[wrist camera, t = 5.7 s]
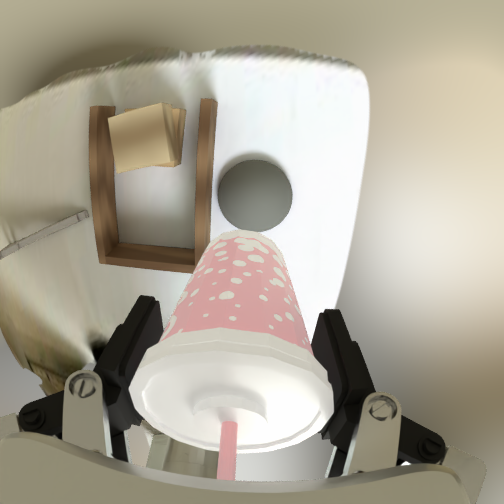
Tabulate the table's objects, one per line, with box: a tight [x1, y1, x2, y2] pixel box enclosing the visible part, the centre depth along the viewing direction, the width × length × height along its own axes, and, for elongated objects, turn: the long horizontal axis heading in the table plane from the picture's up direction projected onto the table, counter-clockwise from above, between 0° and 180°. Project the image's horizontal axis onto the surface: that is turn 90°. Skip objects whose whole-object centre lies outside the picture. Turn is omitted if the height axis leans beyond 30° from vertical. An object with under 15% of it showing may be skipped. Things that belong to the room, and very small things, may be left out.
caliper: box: [0, 210, 89, 260], centre depth 29 cm, size 20×1×6 cm, turn 103°
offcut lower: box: [125, 108, 186, 167], centre depth 26 cm, size 6×6×3 cm
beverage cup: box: [129, 229, 334, 481], centre depth 9 cm, size 6×6×14 cm
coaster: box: [218, 160, 292, 232], centre depth 30 cm, size 8×8×1 cm
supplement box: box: [146, 434, 169, 471], centre depth 50 cm, size 7×7×13 cm
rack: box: [89, 99, 218, 274], centre depth 27 cm, size 18×13×4 cm
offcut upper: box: [108, 103, 179, 174], centre depth 23 cm, size 6×6×3 cm
